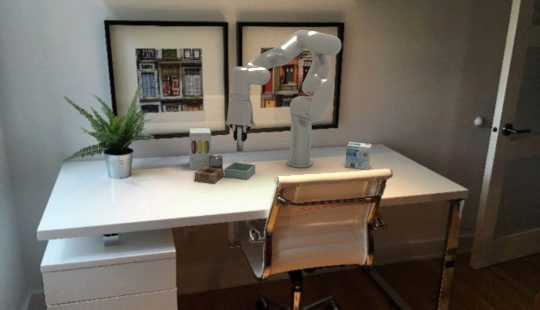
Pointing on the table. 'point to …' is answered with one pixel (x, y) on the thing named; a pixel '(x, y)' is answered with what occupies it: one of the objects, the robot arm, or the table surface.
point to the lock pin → (239, 139)
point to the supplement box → (199, 147)
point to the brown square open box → (209, 175)
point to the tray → (240, 170)
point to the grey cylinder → (216, 161)
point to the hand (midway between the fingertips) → (240, 140)
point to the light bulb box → (358, 155)
